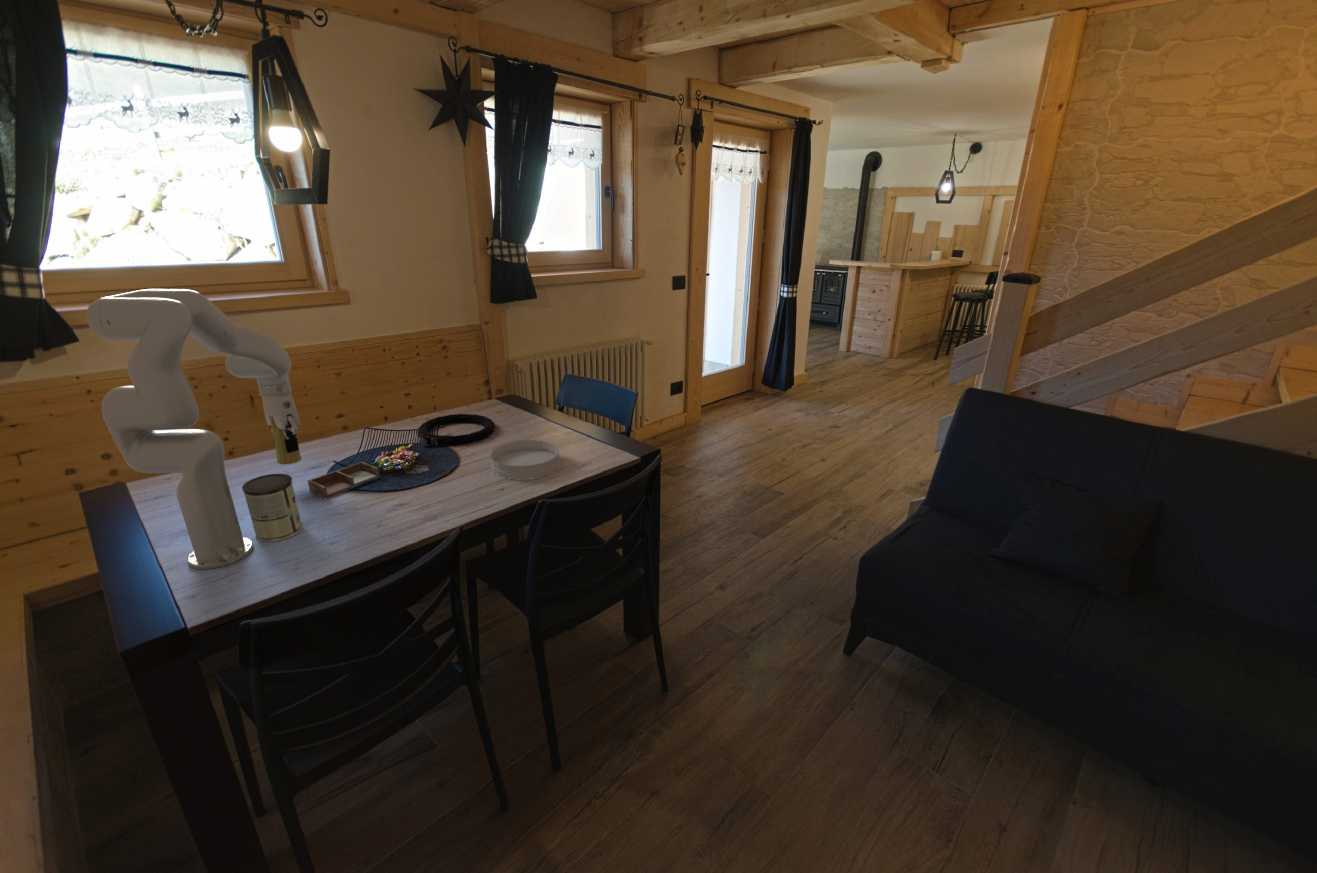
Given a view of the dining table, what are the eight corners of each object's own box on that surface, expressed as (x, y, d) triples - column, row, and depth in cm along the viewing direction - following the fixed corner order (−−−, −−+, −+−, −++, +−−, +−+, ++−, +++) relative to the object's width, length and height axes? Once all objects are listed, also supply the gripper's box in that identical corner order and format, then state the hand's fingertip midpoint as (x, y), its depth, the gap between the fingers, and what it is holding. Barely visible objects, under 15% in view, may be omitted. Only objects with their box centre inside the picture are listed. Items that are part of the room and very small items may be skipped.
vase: (274, 465, 166) (264, 418, 161) (281, 458, 172) (271, 411, 167) (298, 463, 168) (288, 416, 163) (304, 456, 173) (295, 410, 168)
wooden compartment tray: (379, 478, 178) (378, 467, 177) (326, 498, 165) (323, 487, 164) (363, 471, 183) (361, 461, 181) (309, 491, 169) (307, 480, 168)
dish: (567, 455, 199) (566, 441, 197) (550, 482, 179) (549, 468, 177) (504, 451, 201) (503, 438, 199) (480, 478, 181) (479, 464, 179)
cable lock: (510, 420, 220) (450, 445, 196) (510, 429, 222) (451, 455, 197) (457, 408, 232) (393, 430, 207) (457, 417, 234) (395, 440, 209)
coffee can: (251, 530, 148) (238, 481, 143) (296, 517, 155) (285, 469, 150) (260, 547, 141) (246, 495, 136) (307, 532, 148) (296, 483, 143)
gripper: (305, 390, 161) (316, 451, 167) (273, 381, 170) (285, 440, 176) (276, 396, 155) (289, 459, 161) (245, 386, 164) (258, 447, 170)
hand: (287, 448), depth 168 cm, fingers closed on vase, 5 cm apart
